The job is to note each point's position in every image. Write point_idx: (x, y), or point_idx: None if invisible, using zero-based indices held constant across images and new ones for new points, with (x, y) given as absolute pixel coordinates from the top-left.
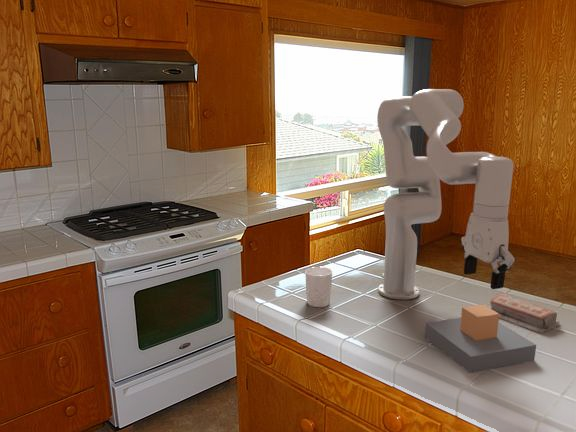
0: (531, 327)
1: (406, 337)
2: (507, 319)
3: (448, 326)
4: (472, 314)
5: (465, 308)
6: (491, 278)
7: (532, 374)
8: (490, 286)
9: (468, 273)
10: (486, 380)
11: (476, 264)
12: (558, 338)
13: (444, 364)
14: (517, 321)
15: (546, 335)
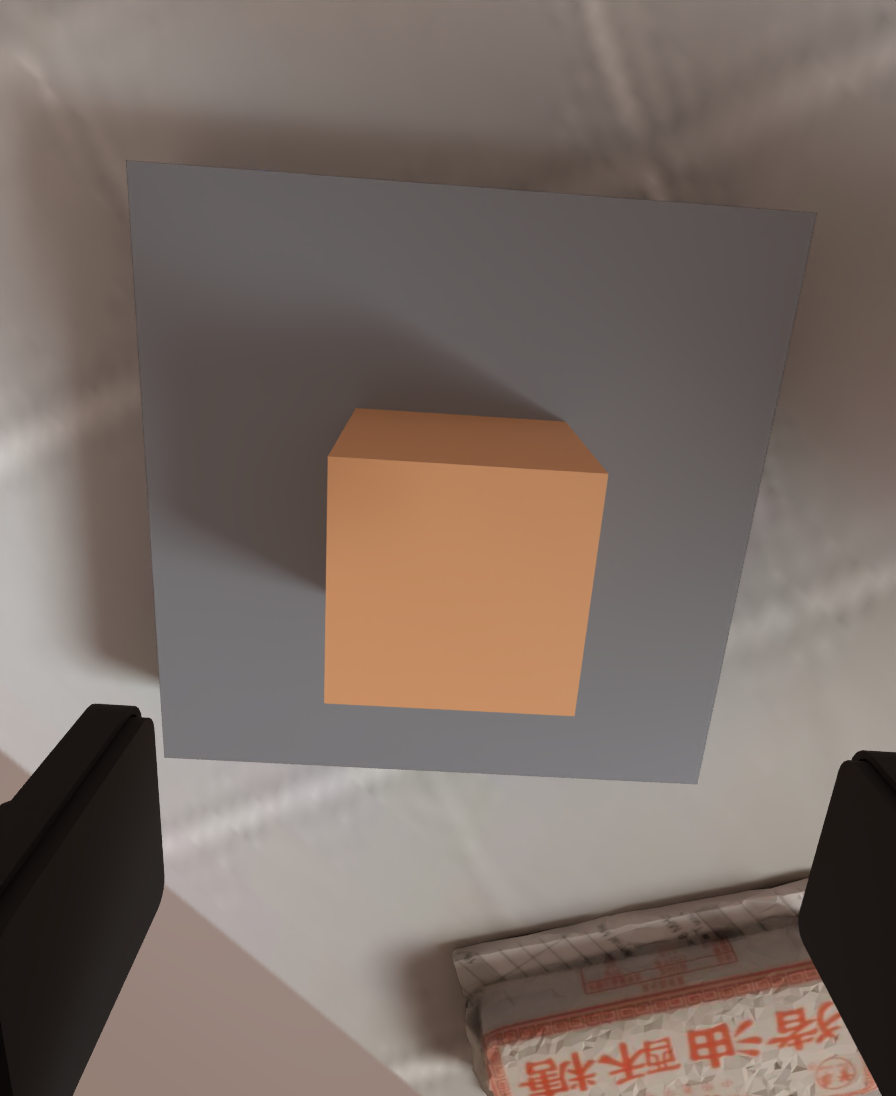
0: (514, 950)
1: (836, 60)
2: (670, 913)
3: (659, 368)
4: (423, 460)
5: (565, 485)
6: (68, 831)
7: (59, 566)
8: (142, 722)
9: (837, 807)
10: (58, 225)
11: (881, 1079)
12: (372, 984)
13: (339, 73)
14: (613, 939)
15: (425, 958)
